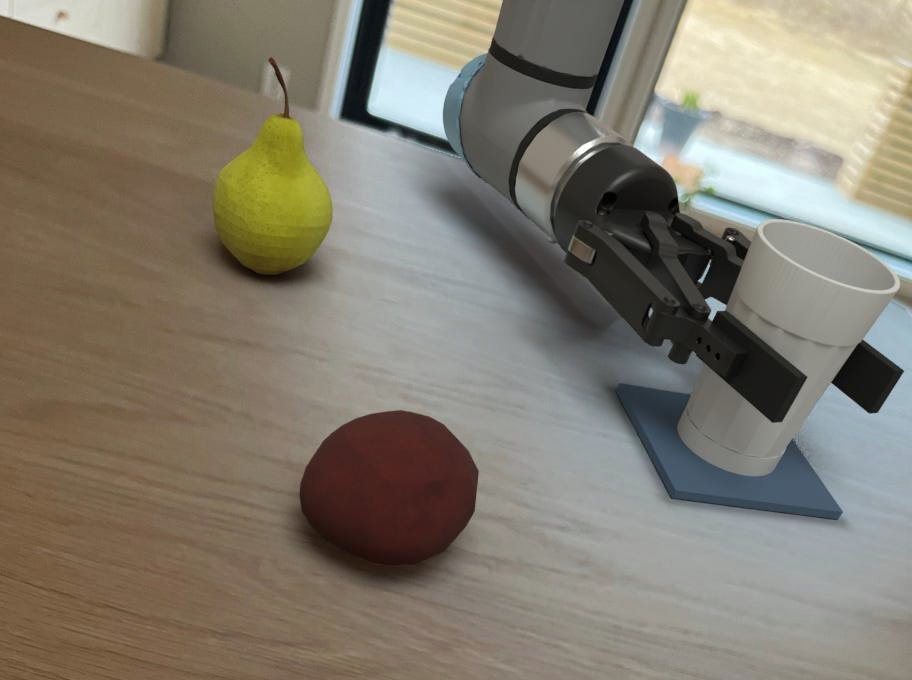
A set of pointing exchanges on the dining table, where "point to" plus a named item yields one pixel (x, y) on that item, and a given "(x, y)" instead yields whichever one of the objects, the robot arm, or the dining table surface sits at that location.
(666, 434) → the mat
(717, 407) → the cup
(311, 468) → the potato
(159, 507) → the dining table surface
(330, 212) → the fruit
